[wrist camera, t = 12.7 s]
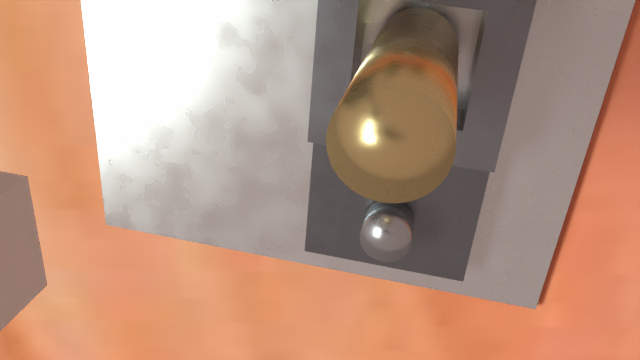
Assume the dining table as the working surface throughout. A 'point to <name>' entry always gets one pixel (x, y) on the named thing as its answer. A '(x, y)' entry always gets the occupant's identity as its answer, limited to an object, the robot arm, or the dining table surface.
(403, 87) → the brass pin
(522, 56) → the square hole fixture plate
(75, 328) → the dining table surface
